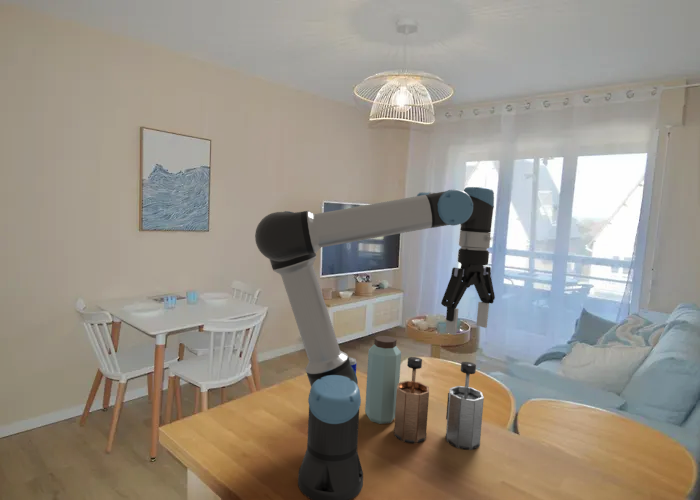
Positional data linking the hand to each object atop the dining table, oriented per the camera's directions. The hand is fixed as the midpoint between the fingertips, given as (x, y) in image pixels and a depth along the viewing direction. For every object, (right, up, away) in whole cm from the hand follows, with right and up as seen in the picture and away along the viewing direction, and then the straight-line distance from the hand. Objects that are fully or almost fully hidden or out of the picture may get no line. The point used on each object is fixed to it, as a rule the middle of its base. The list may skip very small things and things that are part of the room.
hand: (466, 329), depth 107 cm
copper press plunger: (-12, -21, +11) cm, 27 cm away
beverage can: (-31, -30, +29) cm, 53 cm away
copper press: (-13, -33, +12) cm, 37 cm away
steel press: (+2, -33, +10) cm, 35 cm away
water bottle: (-21, -32, +21) cm, 43 cm away
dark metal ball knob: (+2, -22, +9) cm, 24 cm away
